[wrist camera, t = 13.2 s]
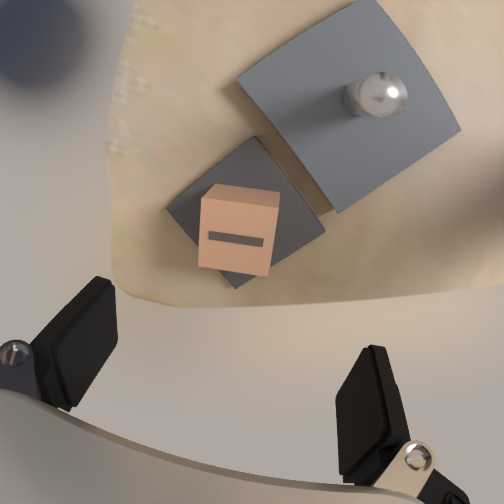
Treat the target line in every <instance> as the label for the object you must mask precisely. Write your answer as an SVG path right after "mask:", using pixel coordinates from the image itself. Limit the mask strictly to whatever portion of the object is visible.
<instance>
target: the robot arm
mask: <svg viewBox="0 0 504 504" xmlns="http://www.w3.org/2000/svg"><path fill="white" fill-rule="evenodd" d="M117 341H118V333H117V318H116V300H115V287H114V285H112V282H111V281H110V280H108V279H105V278H102V277H99V276H96V277H95V278H93V279H92V280H91V281H90V282H89V283H88V284H87V285H86V286H85V287H84V288H83V289H82V290H81V291H80V292H79V293H78V294H77V295H76V296H75V297H74V298H73V299H72V300H71V301H70V302H69V303H68V304H67V305H66V306H65V307H64V308H63V309H62V310H61V311H60V312H59V313H58V314H57V315H56V316H55V317H54V318H53V319H52V320H51V321H50V322H49V323H48V325H47V326H46V327H45V328H44V329H43V330H42V331H41V332H40V333H39V334H38V335H37V337H36V338H35V339H34V340H33V341H32V342H31V343H30V344H28V343H27V342H25V341H22V340H10V341H8V342H6V343H4V344H3V345H2V346H0V504H470V502H469V499H468V496H467V495H466V494H465V493H464V491H462V490H461V489H460V488H458V487H457V486H456V485H454V484H453V483H452V482H451V481H449V480H448V479H447V478H446V477H444V476H443V475H442V474H440V473H439V472H438V471H436V470H435V469H434V466H435V455H434V453H433V451H432V450H431V448H430V447H429V446H428V445H427V444H425V443H423V442H421V441H411V439H410V434H409V430H408V425H407V421H406V417H405V413H404V409H403V405H402V401H401V397H400V393H399V389H398V386H397V385H396V384H395V380H394V376H393V372H392V369H391V365H390V362H389V358H388V354H387V351H386V348H385V347H382V346H376V345H369V346H368V348H363V350H362V352H361V353H360V355H359V357H358V359H357V361H356V362H355V364H354V366H353V368H352V369H351V371H350V373H349V375H348V376H347V378H346V380H345V381H344V383H343V385H342V386H341V388H340V390H339V391H338V393H337V395H336V401H335V403H336V418H337V435H338V458H339V474H340V475H343V483H354V485H338V484H325V483H314V482H304V481H295V480H287V479H280V478H273V477H266V476H259V475H255V474H249V473H244V472H239V471H234V470H229V469H225V468H220V467H216V466H212V465H208V464H204V463H200V462H196V461H192V460H189V459H185V458H181V457H178V456H175V455H172V454H168V453H165V452H162V451H159V450H156V449H153V448H150V447H147V446H144V445H141V444H138V443H136V442H133V441H130V440H128V439H125V438H122V437H120V436H117V435H115V434H112V433H110V432H107V431H105V430H103V429H100V428H98V427H96V426H93V425H91V424H89V423H86V422H84V421H82V420H80V419H78V418H75V417H73V416H71V415H69V414H67V413H65V412H63V411H61V410H59V409H58V407H59V408H61V409H63V410H65V411H67V412H70V410H71V408H72V407H76V406H77V405H78V404H79V402H80V401H81V399H82V398H83V396H84V394H85V393H86V391H87V389H88V388H89V386H90V385H91V383H92V382H93V380H94V379H95V377H96V376H97V374H98V372H99V371H100V369H101V368H102V366H103V365H104V363H105V362H106V360H107V359H108V357H109V356H110V354H111V353H112V351H113V350H114V348H115V347H116V344H117Z"/></svg>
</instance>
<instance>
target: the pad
mask: <svg viewBox="0 0 504 504" xmlns="http://www.w3.org/2000/svg"><path fill="white" fill-rule="evenodd" d="M214 184H222V185H231V186H238V187H246V188H254V189H261V190H268V191H275V192H280V201H279V210H278V217H277V224H276V230H275V237H274V243H273V250H272V256H271V263H270V267H271V266H273V265H274V264H276V263H278V262H279V261H281V260H282V259H284V258H285V257H287V256H289V255H290V254H292V253H293V252H295V251H296V250H298V249H299V248H301V247H303V246H304V245H306V244H307V243H309V242H310V241H312V240H313V239H315V238H316V237H318V236H320V235H321V234H323V233H324V232H325V229H324V227H323V226H322V224H321V223H320V222H319V220H318V219H317V217H316V216H315V215H314V213H313V212H312V210H311V209H310V208H309V206H308V205H307V204H306V202H305V201H304V199H303V198H302V197H301V195H300V194H299V193H298V191H297V190H296V189H295V187H294V186H293V185H292V183H291V182H290V181H289V179H288V178H287V177H286V175H285V174H284V173H283V171H282V170H281V169H280V167H279V166H278V165H277V163H276V162H275V161H274V159H273V158H272V157H271V156H270V154H269V153H268V152H267V150H266V149H265V148H264V147H263V145H262V144H261V143H260V142H259V140H258V139H257V138H256V137H255V136H254V137H252V138H251V139H250V140H248V141H247V142H246V143H245V144H243V145H242V146H241V147H239V148H238V149H237V150H235V151H234V152H233V153H232V154H230V155H229V156H228V157H226V158H225V159H224V160H223V161H221V162H220V163H219V164H218V165H216V166H215V167H214V168H213V169H211V170H210V171H209V172H208V173H206V174H205V175H204V176H203V177H201V178H200V179H199V180H198V181H197V182H195V183H194V184H193V185H192V186H191V187H189V188H188V189H187V190H186V191H185V192H183V193H182V194H181V195H180V196H179V197H178V198H176V199H175V200H174V201H173V202H172V203H171V204H169V205H168V206H167V207H166V209H167V210H168V212H169V213H170V214H171V215H172V216H173V218H174V219H175V220H176V221H177V222H178V223H179V225H180V226H181V227H182V228H183V229H184V231H185V232H186V233H187V234H188V235H189V236H190V238H191V239H192V240H193V241H194V242H195V243H196V245H197V246H198V247H199V231H200V213H201V198H202V197H203V196H204V195H205V194H206V193H207V192H208V191H209V190H210V189H211V187H212V186H213V185H214ZM218 270H219V269H218ZM219 271H220V272H221V273H222V274H223V276H224V277H225V278H226V279H227V280H228V281H229V282H230V284H231V285H232V286H233V287H234V288H235V289H236V288H238V287H240V286H241V285H243V284H244V283H246V282H248V281H249V280H251V279H252V278H254V277H255V276H257V275H251V274H245V273H238V272H232V271H225V270H219Z"/></svg>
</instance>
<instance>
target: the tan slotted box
mask: <svg viewBox="0 0 504 504" xmlns="http://www.w3.org/2000/svg"><path fill="white" fill-rule="evenodd" d="M279 201H280V192H275V191H268V190H261V189H254V188H246V187H238V186H231V185H222V184H214V185H213V186H212V187H211V189H210V190H209V191H208V192H207V193H206V194H205V195H204V196H203V197H202V198H201V213H200V231H199V251H198V266H200V267H206V268H213V269H219V270H225V271H232V272H238V273H245V274H251V275H258V276H264V277H268V275H269V269H270V263H271V256H272V250H273V243H274V237H275V230H276V224H277V217H278V210H279Z"/></svg>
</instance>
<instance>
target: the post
mask: <svg viewBox="0 0 504 504" xmlns="http://www.w3.org/2000/svg"><path fill="white" fill-rule="evenodd" d="M407 101H408V94H407V90H406V87H405V85H404V84H403V82H402V81H401V80H400V79H399V78H398V77H397V76H395V75H393V74H391V73H388V72H377V73H374V74H372V75H370V76H367V77H365V78H363V79H360V80H358V81H356V82H354V83H351V84H349V85H348V86H347V87H346V88H345V89H344V91H343V93H342V102H343V105H344V107H345V108H346V109H347V110H348V111H349V112H350V113H352V114H354V115H357V116H371V117H384V118H391V117H395V116H397V115H399V114H401V113H402V112H403V110H404V109H405V107H406V105H407Z"/></svg>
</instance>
